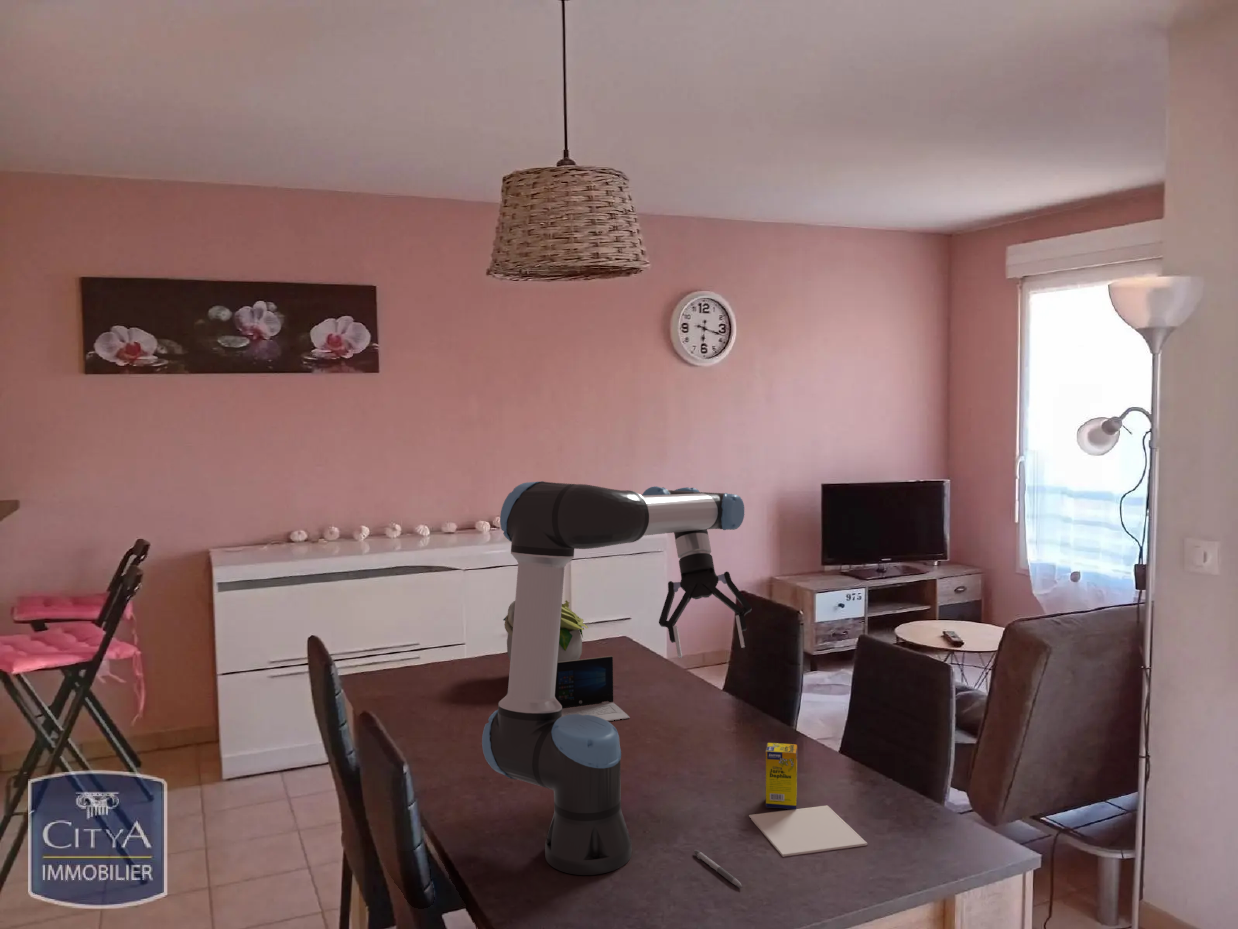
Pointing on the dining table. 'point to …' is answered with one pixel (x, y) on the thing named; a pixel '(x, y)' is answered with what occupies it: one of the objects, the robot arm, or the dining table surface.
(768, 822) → the mat
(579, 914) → the dining table surface
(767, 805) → the supplement box
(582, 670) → the laptop
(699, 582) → the robot arm
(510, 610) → the flower arrangement
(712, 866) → the pen
